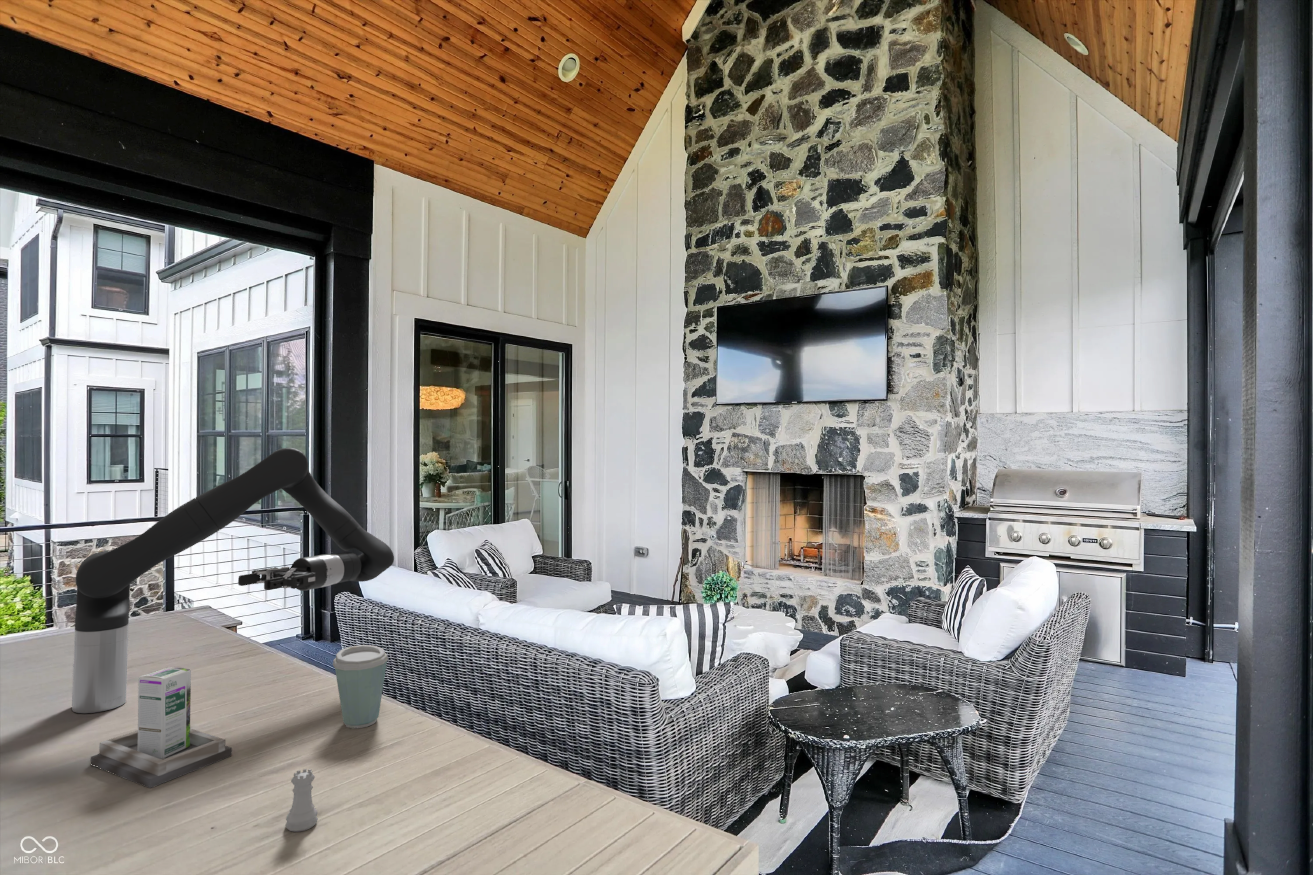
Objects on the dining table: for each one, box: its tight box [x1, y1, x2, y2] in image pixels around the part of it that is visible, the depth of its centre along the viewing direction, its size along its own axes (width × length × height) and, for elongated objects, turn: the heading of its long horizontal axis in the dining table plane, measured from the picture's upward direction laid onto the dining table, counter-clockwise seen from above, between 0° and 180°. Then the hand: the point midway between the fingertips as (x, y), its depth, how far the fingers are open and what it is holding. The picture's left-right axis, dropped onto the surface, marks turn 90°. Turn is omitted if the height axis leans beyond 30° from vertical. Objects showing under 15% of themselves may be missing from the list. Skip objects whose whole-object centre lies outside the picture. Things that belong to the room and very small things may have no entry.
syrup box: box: [137, 666, 192, 759], centre depth 128 cm, size 6×6×14 cm
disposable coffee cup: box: [332, 644, 389, 729], centre depth 147 cm, size 11×11×15 cm
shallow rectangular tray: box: [90, 728, 233, 789], centre depth 128 cm, size 18×14×4 cm
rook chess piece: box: [285, 768, 319, 833], centre depth 107 cm, size 4×4×8 cm
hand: (252, 582), depth 150 cm, fingers open, 8 cm apart
